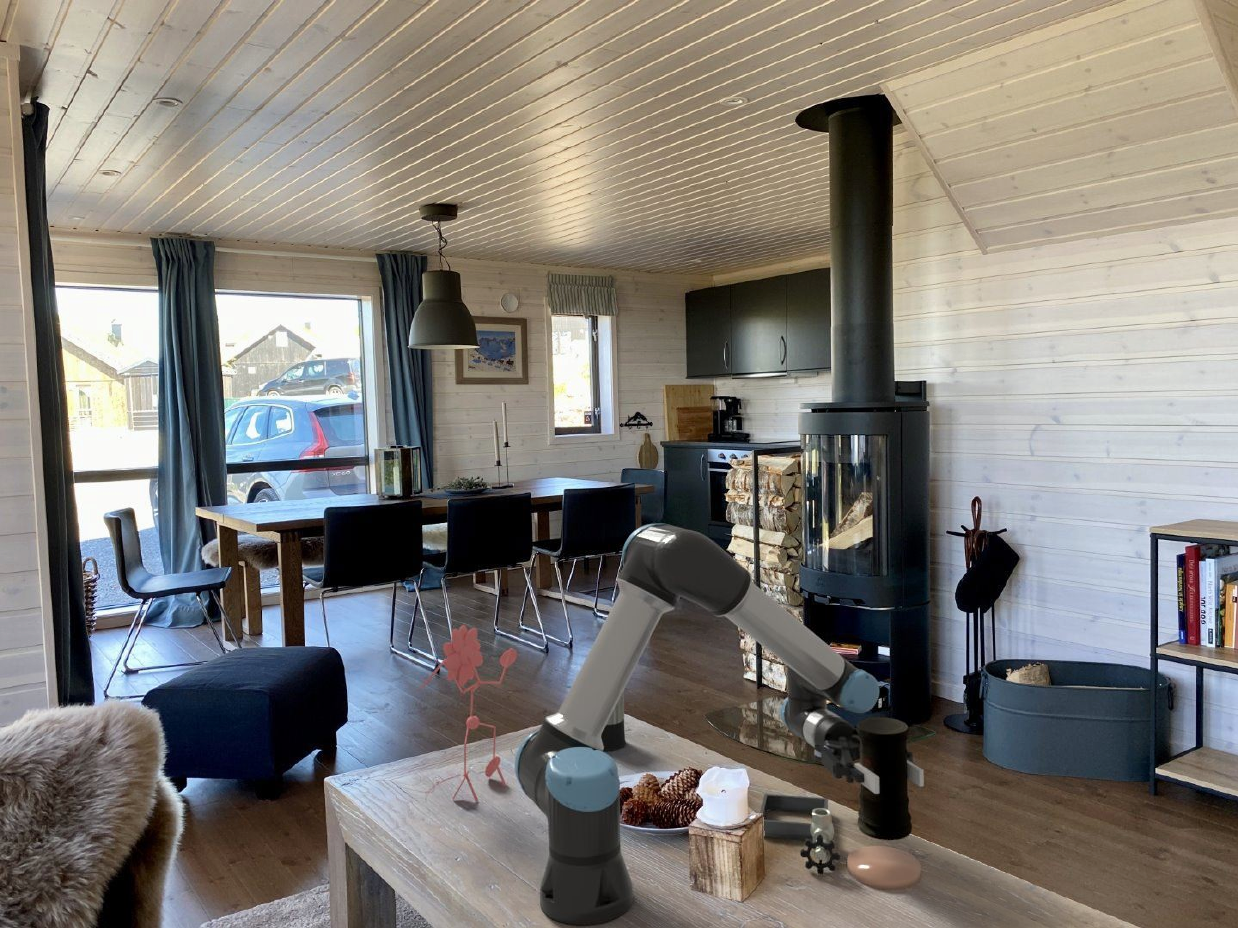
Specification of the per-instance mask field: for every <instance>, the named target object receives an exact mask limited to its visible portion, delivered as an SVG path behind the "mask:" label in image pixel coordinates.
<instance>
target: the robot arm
mask: <svg viewBox="0 0 1238 928" xmlns="http://www.w3.org/2000/svg"><path fill="white" fill-rule="evenodd" d="M621 559H622V566H623V567H622V569H621V571H620V574H619V575H618V577H617V579H616V581H617V584H618V585H617V586H618V588H619V589H618V590H619V593H618V596H617V597H616V599H615V601H614V604H613V605H612V607H611V609H610V611H609V613H608V615H607V617H606V619H605V620H604V623H603V625H602V627H601V629H600V631H599V632H598V634H597V636H596V638H595V640H594V643H593V644H592V646H591V648H590V650H589V652H588V654H587V655H586V657H585V659H584V662H583V664H582V665H581V667H580V669H579V671H578V672H577V675H576V677H575V679H574V681H573V683H572V685H571V687H570V689H569V691H568V692H567V694H566V696H565V698H564V700H563V702H562V704H561V706H560V708H559V710H558V711H557V712H556V713H553V714H550V715H547V716H546V717H545V718H544V720H543V722H542V724H541V725H540V728H539V729H537V730H536V731H534V732H532V733H530V734H528V735H527V736H526V737H525V738H524V740H523V741H522V742H521V743H520V745H519V746H518V749H517V752H516V755H515V759H514V770H515V771H514V772H515V775H516V779H517V781H518V784H519V785H520V788H521V789H522V791H523V793H524V794H525V795H526V796H527V797H528V798H529V800H531V801H532V802H533V803H534V805H536V806H537V808H538V809H539V810H540V811H541V812H542V814H544V815H545V817H546V818H547V824H548V825H547V827H548V829H547V830H548V850H549V851H548V854H549V855H548V860H547V862H546V866H545V869H544V873H543V877H542V879H541V883H540V887H539V905H540V908H541V910H542V912H543V913H544V914H545V915H546V916H548V917H549V918H551V919H553V920H554V921H557V922H559V923H562V924H563V923H564V924H567V925H574V926H575V925H576V926H588V925H589V926H590V925H598V924H602V923H605V922H607V923H608V922H609V921H614V919H617V918H619V917H621V916H622V915H624V914H625V913H626V912H627V911H628V910H630V908H631V906H632V905H633V902H634V888H633V887H634V886H633V882H632V878H631V876H630V873H629V870H628V868H627V865H626V861H625V859H624V856H623V855H622V845H621V810H620V809H621V808H620V807H621V804H620V801H621V800H620V798H621V797H620V789H621V780H620V777H619V771H618V767H617V766H618V765H617V763H616V762H615V760H614V759H613V758H612V757H611V756H610V754H608V753H607V752H605V751H603V749H604V747H603V743H602V739H601V734H602V732H603V730H604V728H605V726H606V724H607V722H608V720H609V718H610V716H611V714H612V712H613V710H614V708H615V706H616V704H617V702H618V700H619V698H620V696H621V694H622V692H623V690H624V691H625V688H626V687H627V685H628V682H629V681H630V678H631V677H632V674H633V673H634V670H635V668H636V667H637V665H638V663H639V661H640V658H641V657H642V655H643V653H644V651H645V649H646V647H647V645H648V643H649V641H650V640H651V637H652V636H653V635H652V634H653V633H654V630H655V629H656V627H657V625H658V623H659V621H660V619H661V617H662V615H663V614H665V613H668V612H670V611H671V612H672V611H674V610H675V608H676V606H677V604H678V603H679V600H680V599H681V598H683V599H685V600H688V601H690V602H692V603H695V604H696V605H699V606H701V607H702V608H704V609H706V610H707V611H708V612H709V613H711V614H712V615H713V616H715V617H717V618H718V617H719V618H722V617H725V618H727V619H728V621H730V622H732V623H733V624H734V625H735V626H737V627H738V628H739V629H741V631H743V632H744V633H745V634H747V635H748V636H749V637H750V638H752V639H753V640H755V642H757V643H759V644H760V645H761V646H762V647H764V648H765V649H766V650H767V651H768V652H770V653H771V654H772V655H774V656H775V657H776V658H777V659H779V660H780V661H781V662H782V663H784V665H786V674H787V675H786V676H787V678H786V679H787V697H786V698H785V699H784V700H783V702H782V704H781V706H780V709H779V715H780V716H779V717H780V720H781V722H782V724H784V726H785V727H786V728H787V729H788V731H790V733H792V734H793V735H795V736H797V737H798V738H800V739H801V740H803V741H805V742H806V743H807V744H808V745H810V746H812V747H813V748H814V760H816V761H818V762H820V763H821V764H822V765H823V766H824V767H825V769H827V771H829V773H830V774H831V775H832V776H833V777H834V778H835V779H838V780H839V779H842V778H843V776H844V777H845V781H846V782H847V783H849V784H852V783H854V781H855V782H856V783H857V784H860V785H861V784H862V785H864V786H865V787H866V788H868V789H869V790H870V791H872V792H873V793H875V794H879V777H878V776H877V775H875V774H874V773H872V772H871V771H869V770H868V769H867V768H865V767H863V766H862V765H861V764H860V762H856V763H854V762H853V760H860V751H859V747H860V739H859V732H858V731H857V728H855V726H854V725H852V723H850V722H848V721H847V720H845V719H844V718H843V717H841V716H839V715H838V714H837V713H834V712H833V711H830V709H828V707H827V706H828V704H827V702H830V703H833V704H834V705H837V706H839V707H841V708H843V709H844V710H845V711H849V712H853V713H856V714H863V713H867V712H870V710H872V709H873V708H874V706H875V705H876V703H877V702H878V700H879V696H880V686H879V683H878V680H877V679H876V678H875V677H874V676H873V675H872V674H870V673H868V672H867V671H865V670H864V669H861V668H860V669H859V668H857V667H856V666H854V665H853V663H850V662H849V661H848V660H847V659H846V658H844V657H843V656H842V655H841V654H839V653H838V652H837V651H836V650H835V649H834V648H832V647H831V646H830V645H828V644H827V642H825V641H824V640H822V639H821V638H820V637H819V636H818V635H816V633H814V631H812V630H811V629H809V628H808V627H807V626H806V625H804V624H803V623H802V622H801V621H800V620H799V619H798V618H796V617H794V615H793V614H791V613H789V612H788V610H786V609H785V608H784V607H783V606H782V605H780V604H779V603H778V602H777V601H776V600H774V599H773V598H772V597H770V596H769V595H768V594H767V593H766V592H764V591H763V590H762V589H761V588H760V587H758V585H756V584H755V583H754V582H753V581H752V579H753V578H752V575H751V572H749V571H748V569H746V568H745V567H744V566H742V565H741V564H740V563H739V562H738V561H737V560H736V559H734V558H733V557H732V556H731V555H730V554H729V553H728V552H726V551H725V550H724V549H723V548H722V547H721V546H720V545H719V544H717V543H716V542H715V541H714V540H712V539H710V538H709V537H708V536H706V535H705V534H702V533H701V532H698V531H695V530H691V529H685V528H683V527H679V526H674V525H671V524H668V523H650V524H644V525H642V526H640V527H639V528H637V529H635V530H634V531H633V532H632V533H631V534H630V535H629V536H628V538H627V539H626V541H625V543H624V545H623V547H622V553H621ZM907 751H908V753H907V780H909V781H910V782H912V783H913V784H915V785H917V786H918V787H920V788H921V787H925V778H924V777H925V775H924V772H925V770H924V769H923V768H921V767H919V766H917V764H916V763H914V753H913V751H910V750H909V749H907Z"/></svg>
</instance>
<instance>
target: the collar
mask: <svg viewBox="0 0 1238 928" xmlns="http://www.w3.org/2000/svg"><path fill="white" fill-rule="evenodd" d="M817 808H825V809H828V810H829V798H825V797H813V796H799V795H788V794H787V795H785V794H771V793H764V794H763V799H762V803H761V807H760V812H759V814H760V813H763V817H764V831H765V837H764V838H772V839H774V838H775V839H783V840H785V839H786V840H796V841H805V840H806V839H807V838H810V839H811V842H813V837H812V835H811V832H810V827H811V823H812V822H797V821H783V820H774V819H767V815H768V811H775V812H776V811H777V812H786V813H787V812H788V813H799V814H811V815H812V811H813V810H814V809H817Z"/></svg>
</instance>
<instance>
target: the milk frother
mask: <svg viewBox="0 0 1238 928" xmlns="http://www.w3.org/2000/svg"><path fill="white" fill-rule="evenodd" d="M601 739H602V743H603V747H604V749H603V751H602V752H610V751H611V752H612V751H615V750H620V749H623V748H624V747H625V746H626V744H627V741H626V735H625V689H624V690H623V692H622V694H621V696H620V698H619V700H618V702H617V704H616V706H615V708H614V710H613V712H612V714H611V716H610V718H609V720H608V722H607V724H606V726H605V728H604V730H603V732H602V734H601Z"/></svg>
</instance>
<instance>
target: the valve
mask: <svg viewBox="0 0 1238 928" xmlns="http://www.w3.org/2000/svg"><path fill="white" fill-rule="evenodd" d="M832 814H833V813H832V810H830V809H829V808H828V809H825V808H817V809H814V810H813V811H812V814H811V815H812V817H811V819H812V822H810V823H811V827H810V832H811V835H812V837H813V841H811V839H810V838H807V839H806V840H804V845H805V846H806V847H807V849H805V848H801V850H800V852H799V854H800V857H802V858H807V860H806V861H805V864H804V866H805V868H806V870H811V869H812V867H815V868H816V872H817V874H818V875H824V873H825V868H826V869H828V870H829V871H830V872H834V871H836V863H833V861H840V859H841V853H840V852H839V851H836V852H834V850H833V849H836V848H835V847H836V841H834V840H833V838H834V835H835V828H834V827H835V826H834V824H833V822H832V819H833V818H832V817H833V816H832ZM812 850H814V855H815V857H814V858H816V859H817V860H818V862H817V861H815V860H814V859H813V858H812V856H811V853H812ZM827 852H829V859H828V860H827V861H825V862H824V863H823V860H824V859H826V856H827Z"/></svg>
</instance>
